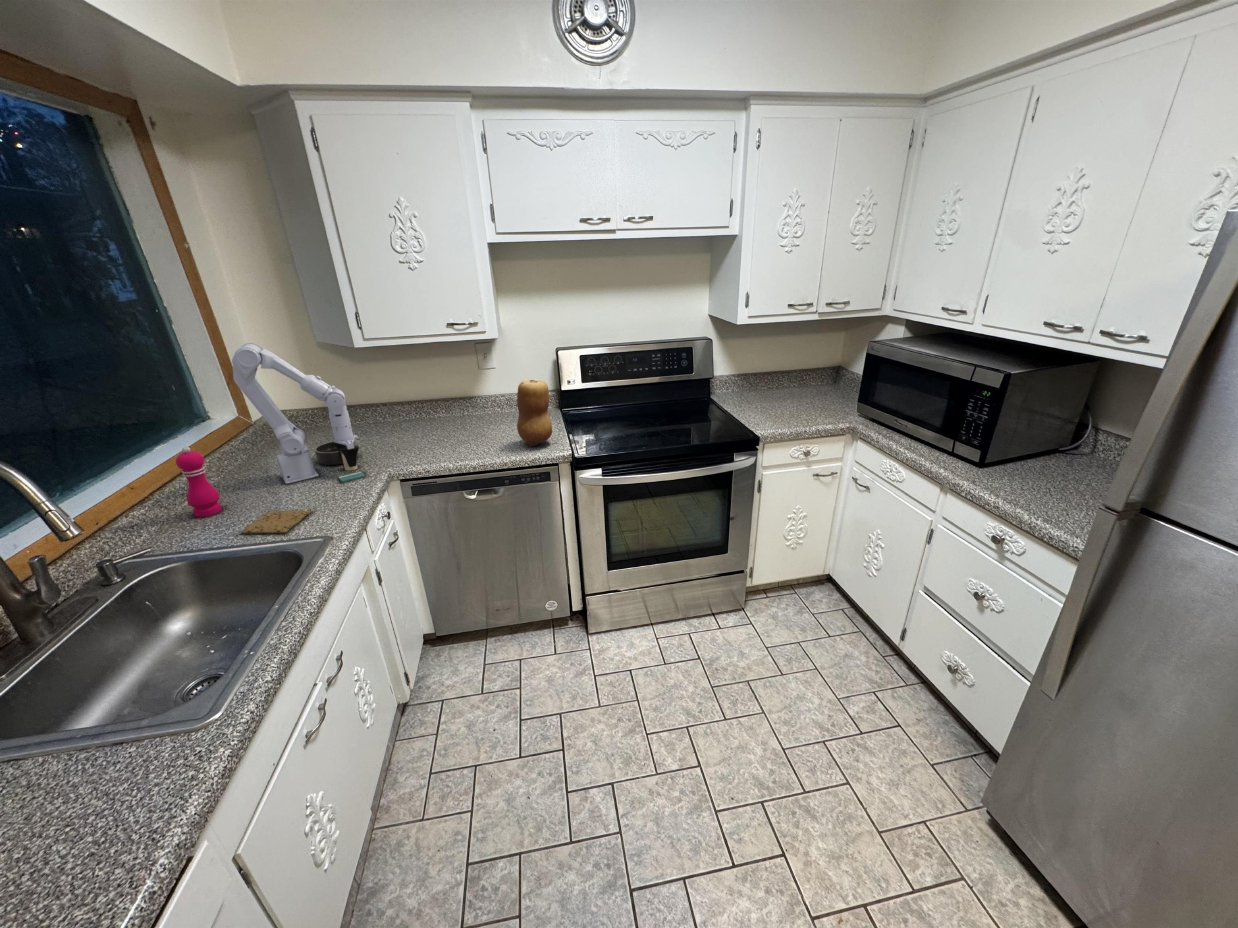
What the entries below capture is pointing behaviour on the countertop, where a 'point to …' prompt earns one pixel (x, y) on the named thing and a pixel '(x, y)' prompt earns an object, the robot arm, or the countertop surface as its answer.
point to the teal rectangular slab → (351, 476)
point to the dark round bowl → (329, 454)
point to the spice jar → (347, 464)
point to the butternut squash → (533, 412)
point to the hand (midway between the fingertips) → (349, 463)
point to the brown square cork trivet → (275, 522)
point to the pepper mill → (198, 484)
